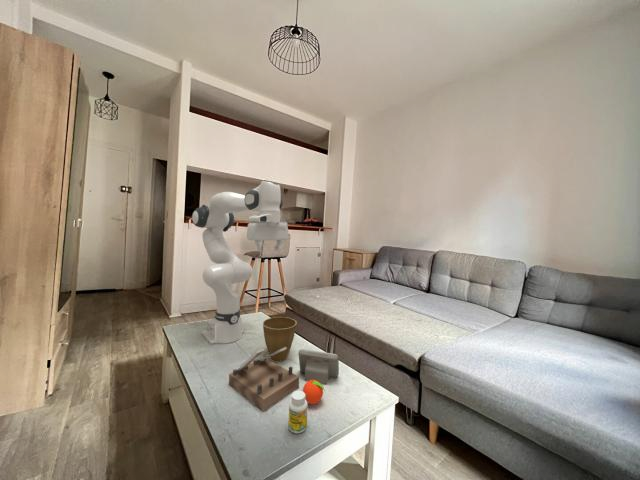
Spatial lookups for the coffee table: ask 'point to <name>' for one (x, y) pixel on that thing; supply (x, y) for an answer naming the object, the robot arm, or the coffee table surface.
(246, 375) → the strap base
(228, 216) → the robot arm
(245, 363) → the near strap
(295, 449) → the coffee table surface
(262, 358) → the strap
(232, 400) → the coffee table surface
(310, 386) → the clementine
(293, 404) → the supplement bottle
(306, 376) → the digital clock
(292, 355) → the coffee table surface
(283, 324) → the plant pot
